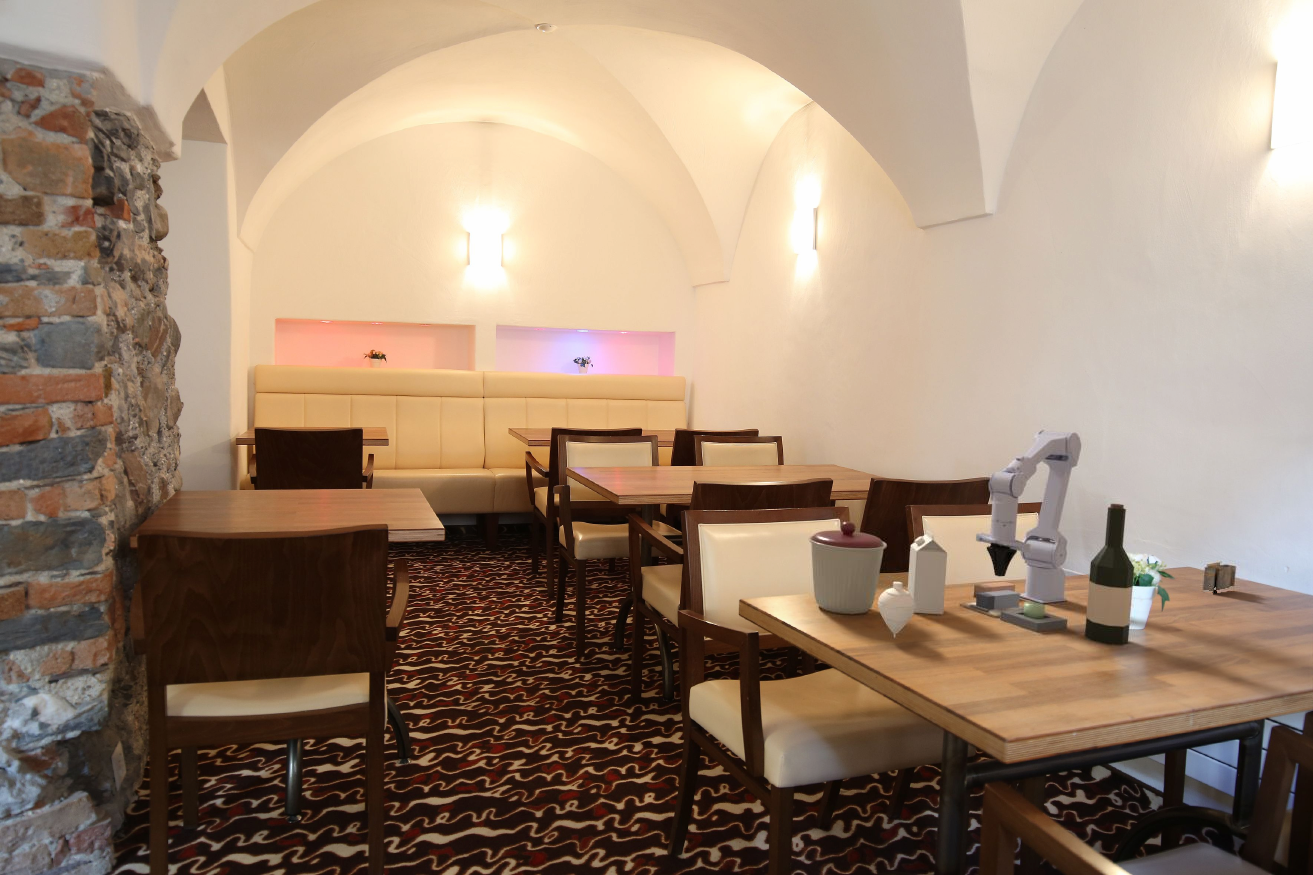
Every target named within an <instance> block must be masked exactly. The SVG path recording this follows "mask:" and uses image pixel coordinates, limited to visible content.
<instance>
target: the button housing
mask: <svg viewBox="0 0 1313 875" xmlns="http://www.w3.org/2000/svg"><path fill="white" fill-rule="evenodd" d="M1023 613H1024V609H1016V610H1008V611H1001V616H1000V617H999V620H1000V621H1004V622H1006V623H1009V624H1011V623H1012V625H1015V626H1017V627H1020V628H1023V629H1027V630H1028V631H1029V630H1030V631H1032V632H1035V633H1039V632H1040V633H1041V632H1048V631H1054V630H1062V629H1067V628H1068V619H1067V618H1064V617H1061V616H1057V615H1054V614H1052V613H1048V612H1045V613H1044V619H1036V620H1035V619H1032V618H1029V617H1026V616H1023Z"/></svg>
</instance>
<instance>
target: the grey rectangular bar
mask: <svg viewBox="0 0 1313 875" xmlns="http://www.w3.org/2000/svg"><path fill="white" fill-rule="evenodd" d="M1020 594H1021V593H1020V592H1017V591H1015V592H1014V591H1010V590H1004V591H994V592H984V593H977V596H976V598H975V602H976V606H979V607H982V608H985V609H988V610H996V609H1005V608H1014V607H1019V606H1020V598H1021V597H1020Z"/></svg>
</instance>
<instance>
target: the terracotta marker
mask: <svg viewBox="0 0 1313 875" xmlns="http://www.w3.org/2000/svg"><path fill="white" fill-rule="evenodd" d="M1004 590H1010V591H1014V592H1016V584H1014V583H1011V582H1007V581H1001V582H1000V581H999V582H987V583H976V584H974V588H973V598H974V597H975V599H976V596H977V593H984V592H994V591H1004Z"/></svg>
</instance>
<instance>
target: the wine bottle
mask: <svg viewBox="0 0 1313 875" xmlns="http://www.w3.org/2000/svg"><path fill="white" fill-rule="evenodd" d="M1124 506H1125V505H1124V504H1123V503H1122V504H1120V503H1110V506H1107V514H1106V516H1107V517H1106V526H1105V528H1106V529H1105V539H1104V540H1105V541H1104V546H1103V547H1102V548H1101V549H1100V550H1099V552H1097V554H1096V556H1094V558H1093V559H1092V560H1091V561H1090V566H1089V567H1090V569H1089V579H1088V590H1087V591H1088V592H1087V593H1088V594H1087V604H1086V605H1087V606H1086V615H1085V616H1086V618H1085V631H1084V637H1085V638H1087V639H1088V640H1090V641H1091V642H1096V643H1098V644H1099V643H1100V644H1104V645H1109V646H1110V645H1111V646H1124V645H1126V644H1128V643H1129V634H1130V633H1129V632H1130V623H1131V621H1130V620H1131V610H1132V598H1133V587H1134V575H1135V565H1134V564H1133V563H1132V561H1131V559H1130V557H1129V556H1128V554H1127V551H1126V550H1125V548H1124V535H1125V525H1126V524H1125V523H1126V511H1127V509H1126V508H1125V507H1124Z"/></svg>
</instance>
